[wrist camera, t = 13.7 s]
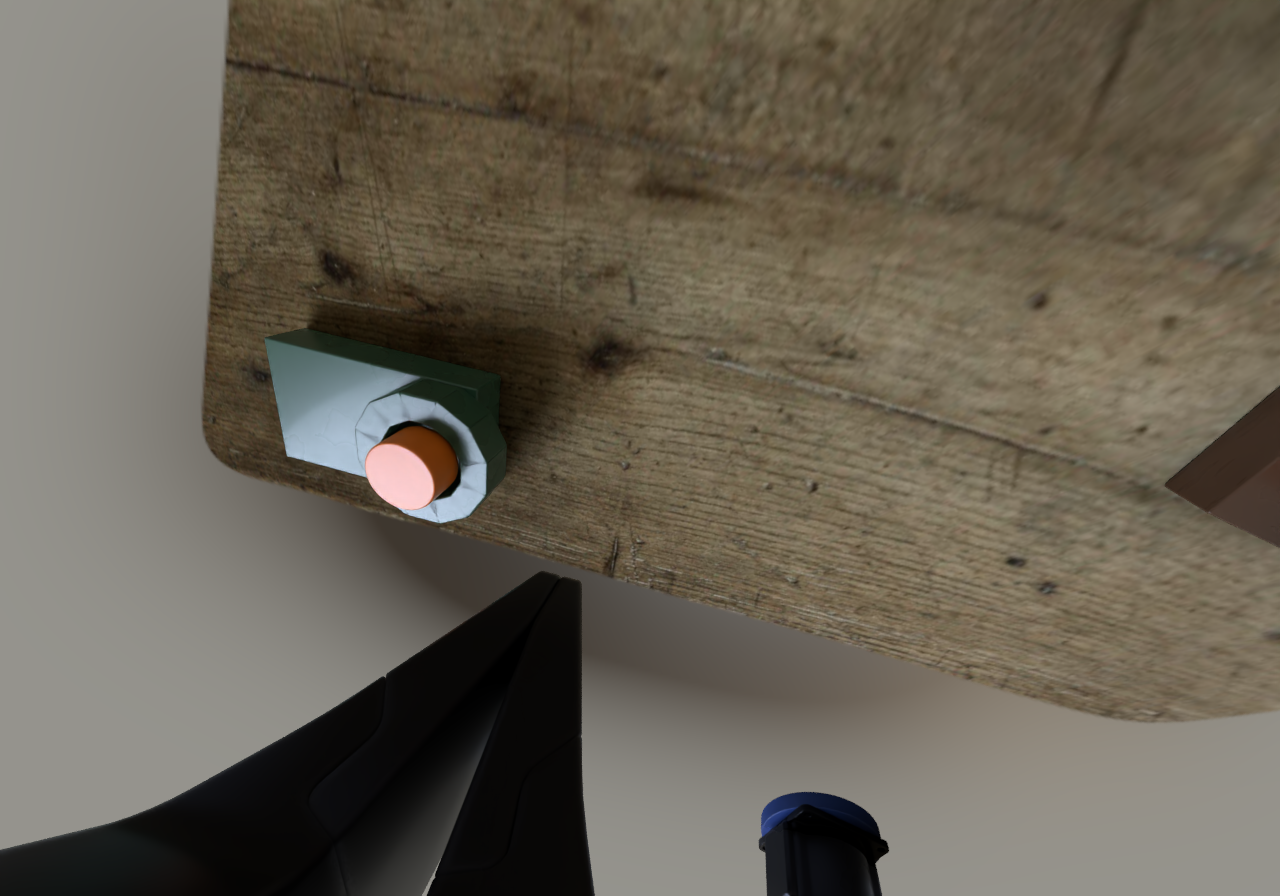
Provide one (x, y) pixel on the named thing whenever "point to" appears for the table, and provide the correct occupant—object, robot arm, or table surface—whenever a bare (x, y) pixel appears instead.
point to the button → (411, 467)
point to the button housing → (386, 410)
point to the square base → (1240, 474)
